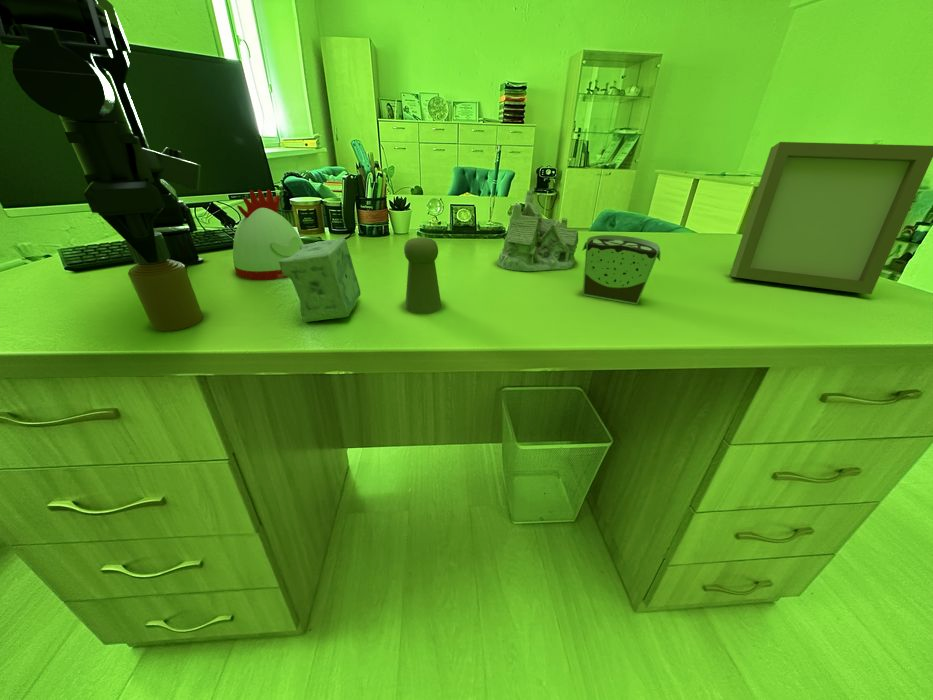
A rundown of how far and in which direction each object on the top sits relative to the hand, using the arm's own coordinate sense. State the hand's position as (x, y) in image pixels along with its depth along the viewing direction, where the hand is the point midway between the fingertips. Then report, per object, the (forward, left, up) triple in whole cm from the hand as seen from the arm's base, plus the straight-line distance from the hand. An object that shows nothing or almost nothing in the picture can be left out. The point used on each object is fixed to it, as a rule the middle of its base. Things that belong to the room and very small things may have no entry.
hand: (152, 259), depth 49 cm
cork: (-25, +26, -10) cm, 37 cm away
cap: (0, 0, 0) cm, 0 cm away
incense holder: (-15, +15, -10) cm, 23 cm away
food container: (-49, +51, -10) cm, 71 cm away
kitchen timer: (-23, -11, -10) cm, 27 cm away
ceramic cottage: (-59, +32, -10) cm, 68 cm away
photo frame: (-80, +80, -10) cm, 114 cm away
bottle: (0, 0, -9) cm, 9 cm away
